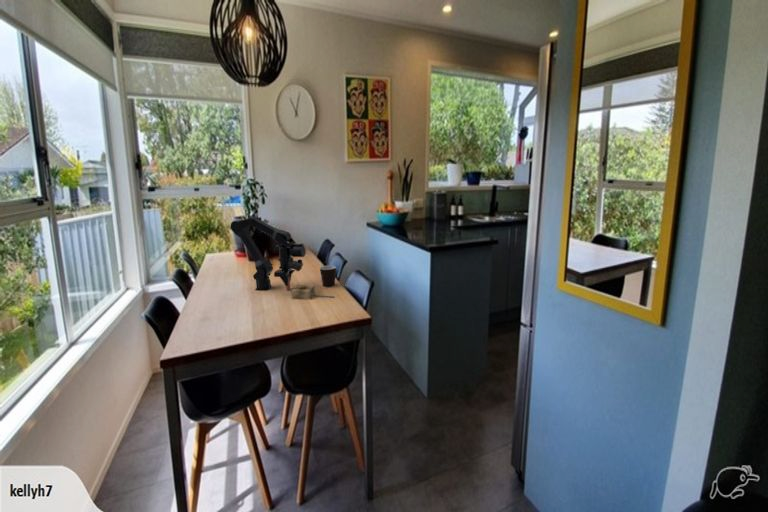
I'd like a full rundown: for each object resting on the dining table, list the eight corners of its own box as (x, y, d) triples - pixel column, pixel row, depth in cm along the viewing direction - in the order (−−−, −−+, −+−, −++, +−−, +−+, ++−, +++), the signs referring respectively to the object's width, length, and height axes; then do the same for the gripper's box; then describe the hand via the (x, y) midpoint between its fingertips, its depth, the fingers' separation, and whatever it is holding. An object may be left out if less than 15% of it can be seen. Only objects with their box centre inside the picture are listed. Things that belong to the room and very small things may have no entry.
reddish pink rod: (285, 290, 194) (283, 273, 191) (286, 288, 196) (285, 272, 194) (289, 290, 193) (288, 273, 191) (291, 288, 196) (289, 272, 193)
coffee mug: (333, 288, 196) (332, 270, 193) (318, 287, 197) (317, 269, 195) (340, 281, 207) (339, 264, 204) (326, 280, 208) (325, 263, 206)
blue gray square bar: (313, 296, 184) (313, 295, 184) (314, 295, 185) (314, 294, 185) (333, 297, 181) (333, 297, 181) (334, 297, 182) (334, 296, 182)
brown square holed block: (291, 298, 181) (291, 291, 180) (298, 292, 189) (297, 285, 188) (309, 299, 180) (309, 291, 179) (315, 293, 188) (314, 285, 188)
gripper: (294, 261, 180) (296, 291, 184) (306, 252, 198) (308, 280, 202) (272, 260, 182) (275, 290, 185) (286, 252, 200) (288, 279, 203)
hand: (287, 285), depth 194 cm, fingers closed on reddish pink rod, 2 cm apart
